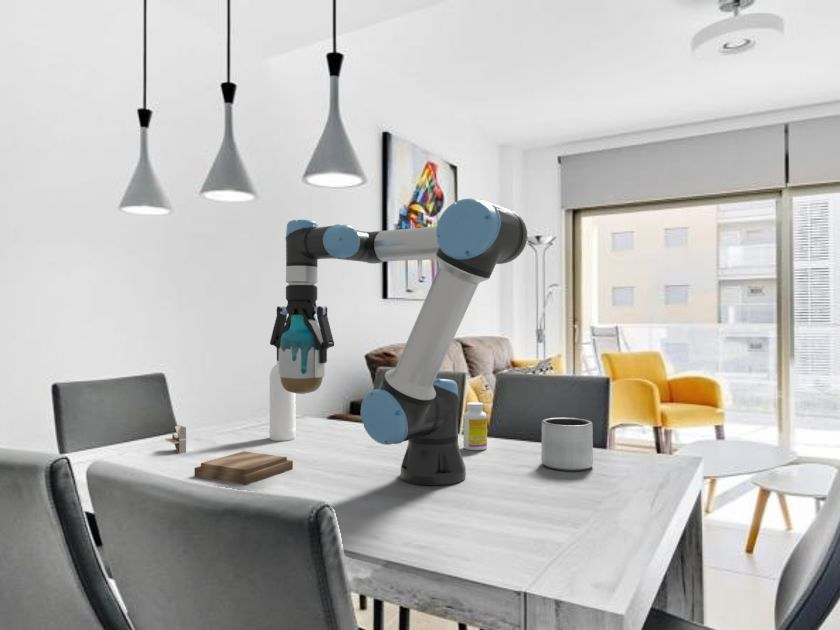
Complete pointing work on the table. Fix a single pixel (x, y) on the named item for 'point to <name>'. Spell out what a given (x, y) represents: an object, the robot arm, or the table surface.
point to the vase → (298, 358)
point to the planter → (567, 444)
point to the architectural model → (179, 439)
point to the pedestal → (243, 467)
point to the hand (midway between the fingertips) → (301, 375)
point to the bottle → (281, 409)
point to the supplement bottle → (475, 427)
